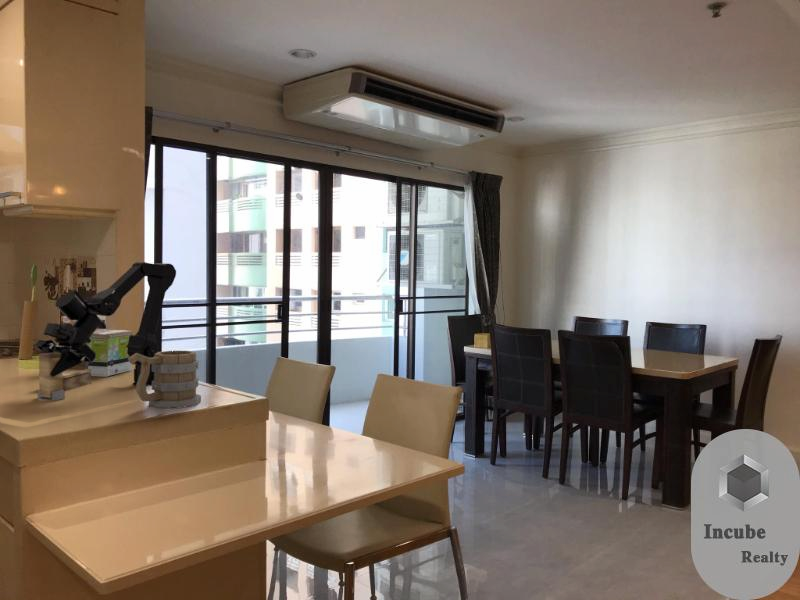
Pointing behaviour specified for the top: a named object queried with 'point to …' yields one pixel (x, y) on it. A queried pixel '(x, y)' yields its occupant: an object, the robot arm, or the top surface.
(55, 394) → the grey rounded piece
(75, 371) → the lid
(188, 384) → the tankard
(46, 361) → the wooden block
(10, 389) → the top surface
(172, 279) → the robot arm
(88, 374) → the open wooden box
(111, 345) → the tea box
